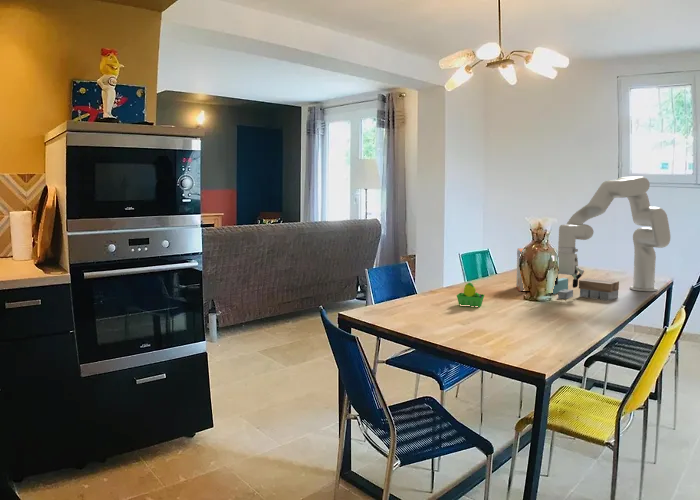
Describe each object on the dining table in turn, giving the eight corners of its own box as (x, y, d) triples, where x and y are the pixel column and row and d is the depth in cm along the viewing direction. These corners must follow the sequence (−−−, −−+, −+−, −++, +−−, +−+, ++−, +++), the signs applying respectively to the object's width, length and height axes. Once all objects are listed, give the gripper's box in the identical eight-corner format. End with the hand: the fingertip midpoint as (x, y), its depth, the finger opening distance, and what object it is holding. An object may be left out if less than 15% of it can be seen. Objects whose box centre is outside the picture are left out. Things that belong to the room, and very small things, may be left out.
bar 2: (587, 294, 269) (588, 286, 268) (596, 295, 266) (596, 287, 265) (579, 297, 262) (580, 288, 262) (588, 298, 260) (588, 289, 259)
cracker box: (531, 292, 276) (532, 251, 273) (518, 291, 277) (519, 251, 274) (527, 287, 289) (528, 248, 287) (516, 286, 290) (516, 247, 288)
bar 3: (598, 295, 265) (598, 287, 264) (606, 296, 262) (606, 288, 261) (589, 298, 259) (590, 289, 258) (598, 299, 256) (598, 291, 255)
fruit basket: (484, 305, 247) (485, 280, 246) (480, 309, 239) (481, 284, 238) (460, 303, 252) (460, 279, 251) (455, 307, 244) (455, 282, 243)
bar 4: (609, 297, 261) (609, 288, 260) (617, 298, 258) (618, 290, 257) (599, 299, 256) (600, 291, 255) (608, 301, 252) (608, 292, 252)
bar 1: (564, 295, 266) (564, 289, 265) (572, 296, 263) (573, 289, 263) (558, 298, 260) (558, 291, 260) (566, 299, 257) (566, 292, 257)
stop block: (562, 289, 281) (562, 277, 280) (567, 290, 279) (568, 278, 278) (548, 293, 272) (548, 281, 271) (554, 294, 269) (554, 282, 269)
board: (587, 286, 268) (587, 278, 268) (618, 289, 257) (619, 281, 257) (578, 288, 262) (579, 280, 262) (610, 292, 251) (610, 284, 251)
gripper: (588, 251, 255) (586, 287, 257) (553, 248, 268) (551, 282, 270) (580, 252, 250) (579, 289, 252) (545, 249, 263) (544, 284, 265)
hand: (565, 286), depth 261 cm, fingers open, 9 cm apart
